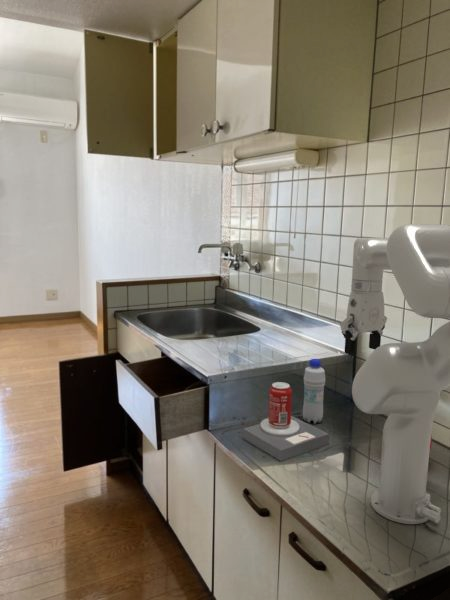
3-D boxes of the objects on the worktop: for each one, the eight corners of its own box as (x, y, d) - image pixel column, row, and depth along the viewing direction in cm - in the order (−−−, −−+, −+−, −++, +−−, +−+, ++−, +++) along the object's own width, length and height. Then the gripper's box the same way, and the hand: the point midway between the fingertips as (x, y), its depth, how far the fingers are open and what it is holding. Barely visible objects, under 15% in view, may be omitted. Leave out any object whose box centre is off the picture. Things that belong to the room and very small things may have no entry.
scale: (328, 443, 134) (329, 430, 134) (280, 461, 124) (281, 446, 123) (289, 424, 147) (289, 411, 146) (243, 438, 137) (243, 425, 136)
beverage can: (290, 421, 139) (291, 381, 137) (290, 430, 133) (292, 389, 131) (268, 420, 140) (269, 380, 138) (268, 429, 134) (269, 388, 132)
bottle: (317, 426, 145) (320, 363, 142) (297, 421, 149) (300, 359, 146) (326, 420, 151) (330, 358, 148) (307, 414, 155) (310, 354, 152)
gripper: (356, 290, 114) (351, 360, 116) (399, 286, 124) (395, 350, 126) (332, 287, 120) (328, 353, 123) (375, 283, 130) (371, 344, 132)
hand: (362, 351), depth 124 cm, fingers open, 9 cm apart
